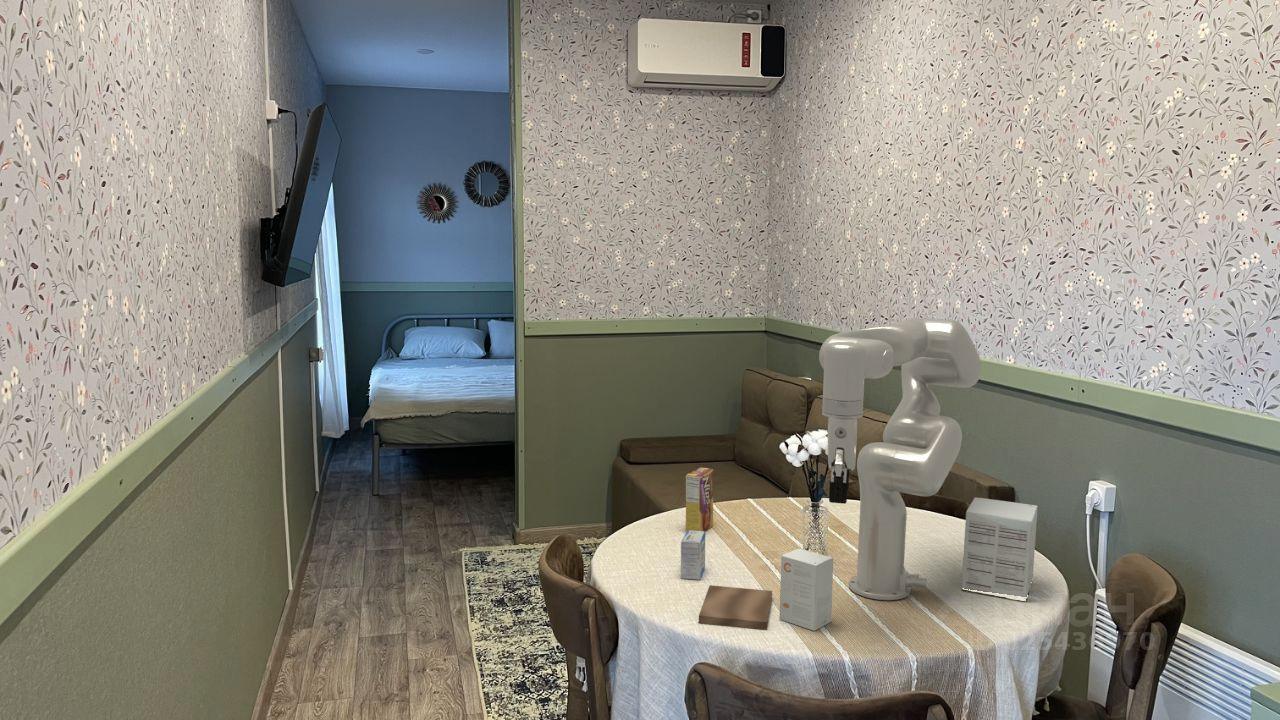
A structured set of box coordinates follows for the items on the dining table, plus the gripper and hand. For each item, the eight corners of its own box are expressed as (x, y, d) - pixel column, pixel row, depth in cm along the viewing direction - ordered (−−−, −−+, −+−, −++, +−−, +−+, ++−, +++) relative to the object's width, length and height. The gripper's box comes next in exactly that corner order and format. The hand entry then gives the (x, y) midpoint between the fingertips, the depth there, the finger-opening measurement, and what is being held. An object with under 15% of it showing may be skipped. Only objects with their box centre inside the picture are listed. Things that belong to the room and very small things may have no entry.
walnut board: (772, 597, 186) (772, 590, 185) (766, 629, 170) (767, 622, 170) (709, 592, 188) (709, 585, 188) (698, 623, 173) (698, 615, 173)
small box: (831, 622, 174) (834, 557, 172) (814, 632, 169) (816, 565, 168) (796, 610, 180) (798, 547, 178) (778, 619, 175) (780, 554, 173)
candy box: (698, 523, 235) (699, 466, 233) (713, 526, 233) (715, 468, 231) (684, 533, 227) (685, 474, 225) (699, 536, 225) (701, 476, 223)
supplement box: (969, 571, 203) (974, 496, 200) (1033, 582, 196) (1038, 504, 194) (959, 591, 191) (964, 511, 189) (1027, 603, 185) (1033, 520, 183)
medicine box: (700, 580, 195) (701, 542, 194) (680, 579, 196) (680, 540, 195) (705, 568, 202) (706, 530, 201) (685, 566, 203) (686, 529, 202)
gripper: (862, 417, 161) (858, 510, 163) (863, 401, 177) (860, 485, 179) (819, 414, 162) (815, 506, 165) (825, 399, 179) (821, 482, 181)
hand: (838, 495), depth 172 cm, fingers open, 9 cm apart
